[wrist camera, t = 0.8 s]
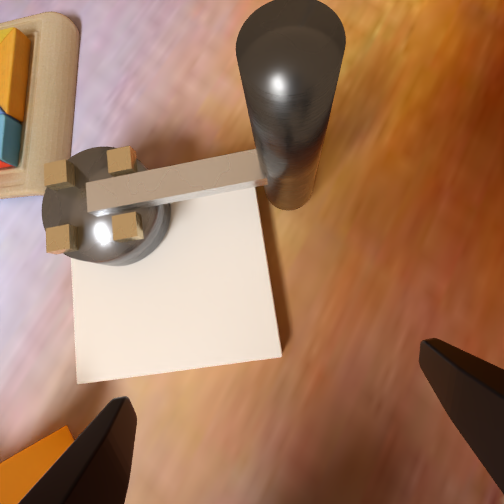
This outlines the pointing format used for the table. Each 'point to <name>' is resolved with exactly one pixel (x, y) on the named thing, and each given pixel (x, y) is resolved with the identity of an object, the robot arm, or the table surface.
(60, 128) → the wooden puzzle
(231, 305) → the cap plate
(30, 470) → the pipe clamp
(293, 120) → the dark cylinder with bar
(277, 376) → the table surface
